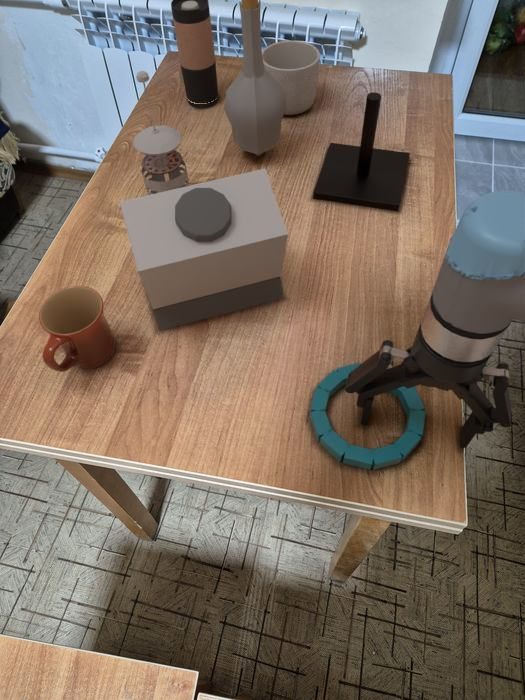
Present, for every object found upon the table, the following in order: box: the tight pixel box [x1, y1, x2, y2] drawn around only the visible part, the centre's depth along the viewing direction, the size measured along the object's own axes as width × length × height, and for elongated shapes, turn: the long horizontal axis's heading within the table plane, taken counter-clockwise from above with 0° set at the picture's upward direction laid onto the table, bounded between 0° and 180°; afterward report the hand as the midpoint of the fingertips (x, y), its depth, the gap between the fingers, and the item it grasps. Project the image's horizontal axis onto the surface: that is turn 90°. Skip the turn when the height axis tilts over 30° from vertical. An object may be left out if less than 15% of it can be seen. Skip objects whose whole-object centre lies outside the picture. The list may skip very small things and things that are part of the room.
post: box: [312, 91, 411, 212], centre depth 93 cm, size 16×16×16 cm
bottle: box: [223, 0, 287, 157], centre depth 93 cm, size 11×11×30 cm
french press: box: [132, 70, 191, 195], centre depth 87 cm, size 10×12×25 cm
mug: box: [38, 285, 117, 373], centre depth 73 cm, size 12×9×10 cm
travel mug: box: [170, 0, 219, 109], centre depth 109 cm, size 8×8×20 cm
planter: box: [262, 40, 321, 116], centre depth 110 cm, size 12×12×11 cm
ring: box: [309, 362, 426, 471], centre depth 70 cm, size 15×15×2 cm
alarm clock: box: [119, 168, 289, 332], centre depth 76 cm, size 20×16×20 cm
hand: (413, 427), depth 69 cm, fingers open, 12 cm apart
